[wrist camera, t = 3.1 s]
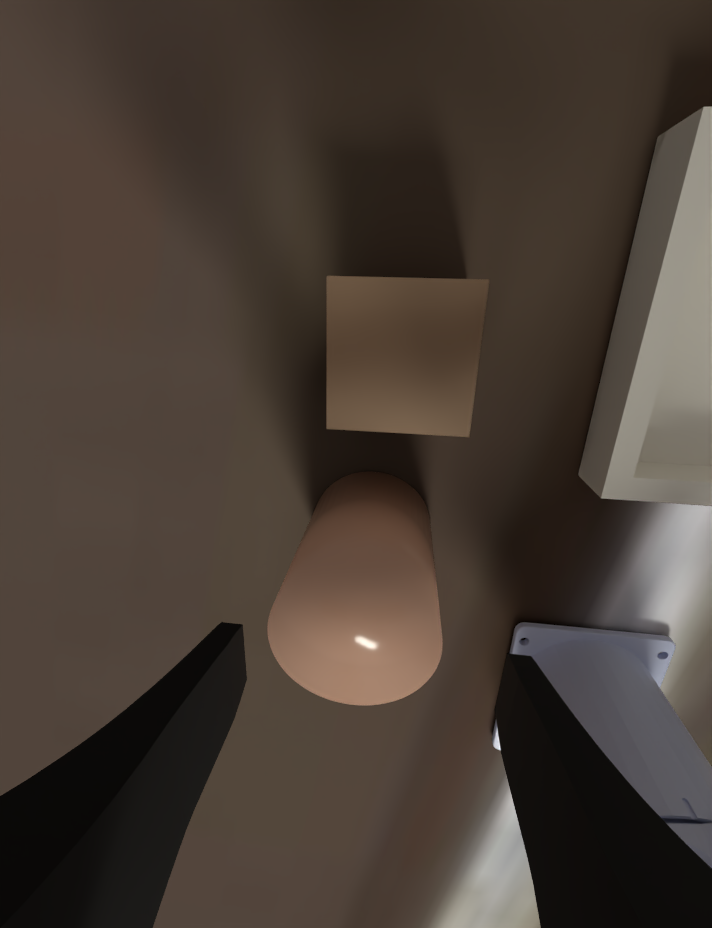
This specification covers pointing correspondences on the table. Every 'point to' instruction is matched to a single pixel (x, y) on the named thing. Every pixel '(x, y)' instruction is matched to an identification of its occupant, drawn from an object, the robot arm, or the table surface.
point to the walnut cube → (403, 353)
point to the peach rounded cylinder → (361, 595)
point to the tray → (662, 338)
